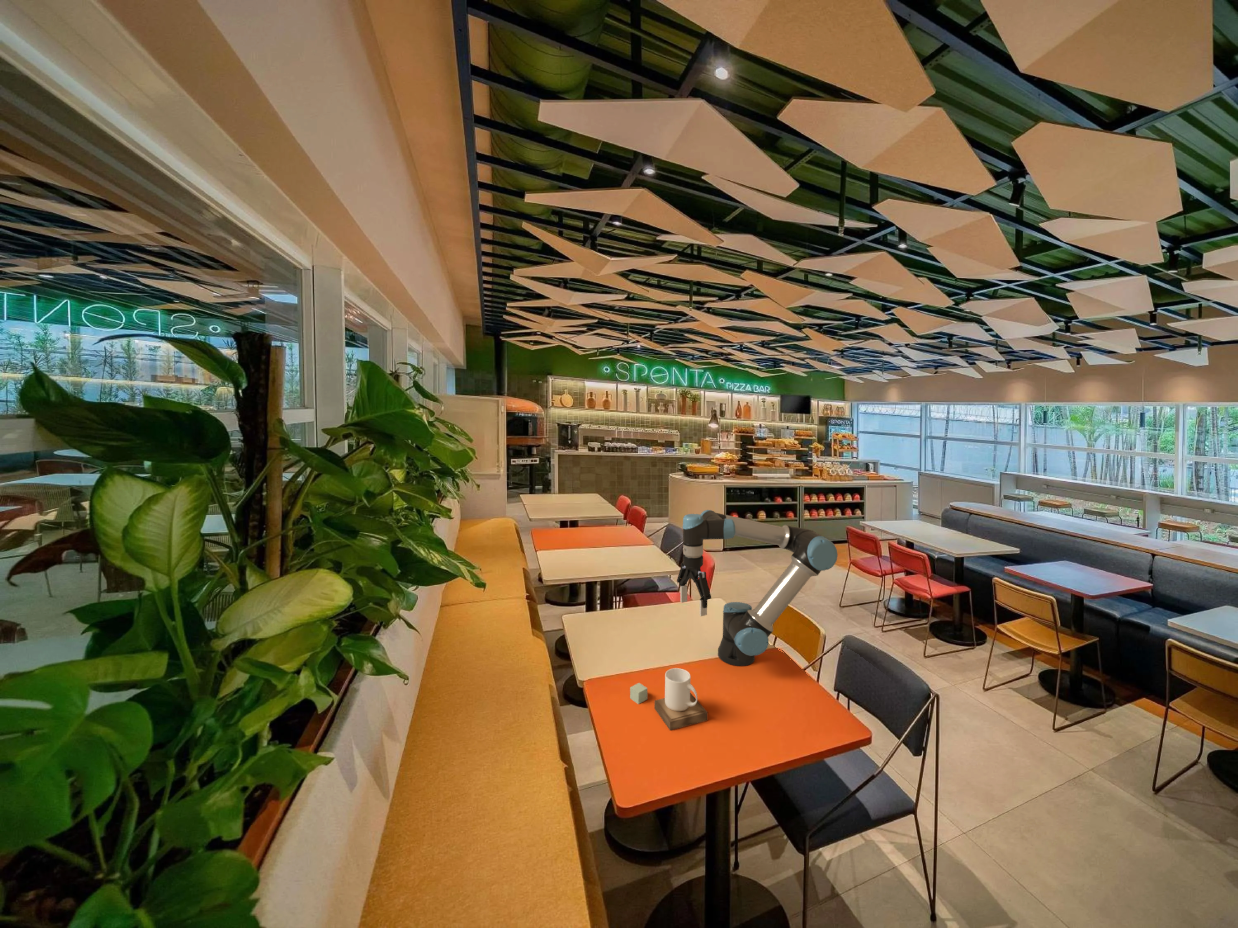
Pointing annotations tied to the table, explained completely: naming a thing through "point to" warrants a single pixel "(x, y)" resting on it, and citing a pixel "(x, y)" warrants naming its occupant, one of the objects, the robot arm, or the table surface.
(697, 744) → the table surface
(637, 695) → the sage block
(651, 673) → the table surface
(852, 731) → the table surface
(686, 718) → the slab
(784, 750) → the table surface
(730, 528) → the robot arm
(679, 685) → the mug
